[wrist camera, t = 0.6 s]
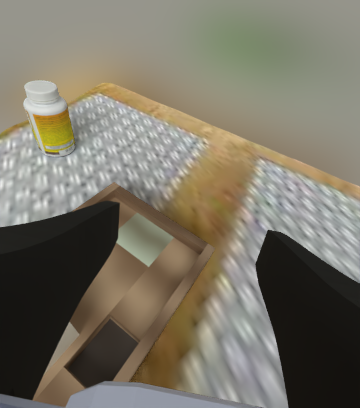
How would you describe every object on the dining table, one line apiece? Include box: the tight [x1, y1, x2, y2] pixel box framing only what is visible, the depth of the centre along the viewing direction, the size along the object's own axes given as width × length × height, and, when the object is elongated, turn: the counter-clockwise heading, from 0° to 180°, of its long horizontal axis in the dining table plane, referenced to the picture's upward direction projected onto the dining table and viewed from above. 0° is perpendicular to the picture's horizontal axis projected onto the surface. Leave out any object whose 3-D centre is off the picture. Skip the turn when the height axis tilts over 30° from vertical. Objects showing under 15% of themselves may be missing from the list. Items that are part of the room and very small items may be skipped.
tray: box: [32, 182, 215, 407], centre depth 23 cm, size 22×16×4 cm
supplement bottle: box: [24, 80, 75, 157], centre depth 34 cm, size 6×6×10 cm
